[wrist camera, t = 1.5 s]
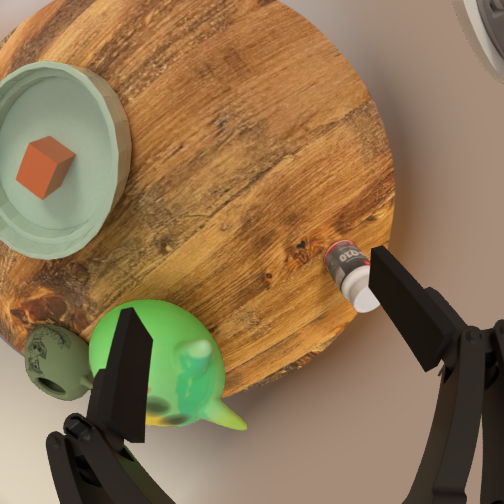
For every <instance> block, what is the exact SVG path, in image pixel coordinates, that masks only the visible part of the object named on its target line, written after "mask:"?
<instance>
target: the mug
mask: <svg viewBox="0 0 504 504" xmlns="http://www.w3.org/2000/svg"><path fill="white" fill-rule="evenodd" d="M25 367H26V371H27V373H28V376H29V378H30V379H31V381H32V382H33V383H34V384H35V385H36V386H37V387H38V388H39V389H41V390H42V391H44V392H45V393H46V394H48V395H51V396H53V397H55V398H58V399H61V400H65V401H72V400H75V399H77V398H80V397H82V396H83V395H84V394H85V393H86V392H87V391H88V390H89V389H91V390H92V388H93V384H92V382H93V380H94V376H93V373H92V370H91V366H90V361H89V346H88V345H87V343H86V342H85V341H84V340H82V339H81V338H80V337H79V336H77V335H76V334H75V333H73V332H71V331H69V330H67V329H65V328H64V327H60V326H56V325H51V324H45V325H38V326H37V327H36V328H35V329H34V330H33V332H32V333H31V334H30V335H29V337H28V338H27V342H26V346H25Z"/></svg>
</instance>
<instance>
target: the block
mask: <svg viewBox="0 0 504 504" xmlns="http://www.w3.org/2000/svg"><path fill="white" fill-rule="evenodd" d="M75 156H76V154H75V153H74V152H72V151H71V150H69V149H68V148H67V147H65V146H64V145H62V144H61V143H59V142H58V141H57V140H55V139H54V138H52V137H51V136H47V137H44V138H41V139H38V140H36V141H33V142H30V143H29V144H28V146H27V149H26V151H25V154H24V157H23V159H22V162H21V165H20V168H19V170H18V173H17V176H16V179H15V180H16V181H18V182H19V183H20V184H21V185H23V186H24V187H25V188H27V189H28V190H29V191H31V192H32V193H33V194H34V195H36V196H37V197H38V198H40V199H41V200H44V199H45V198H46V197H47V196H49V195H50V194H51V193H53V192H54V191H55V190H57V189H58V188H59V187H61V185H62V182H63V180H64V178H65V176H66V174H67V172H68V170H69V167H70V165H71V163H72V161H73V160H74V158H75Z"/></svg>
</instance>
